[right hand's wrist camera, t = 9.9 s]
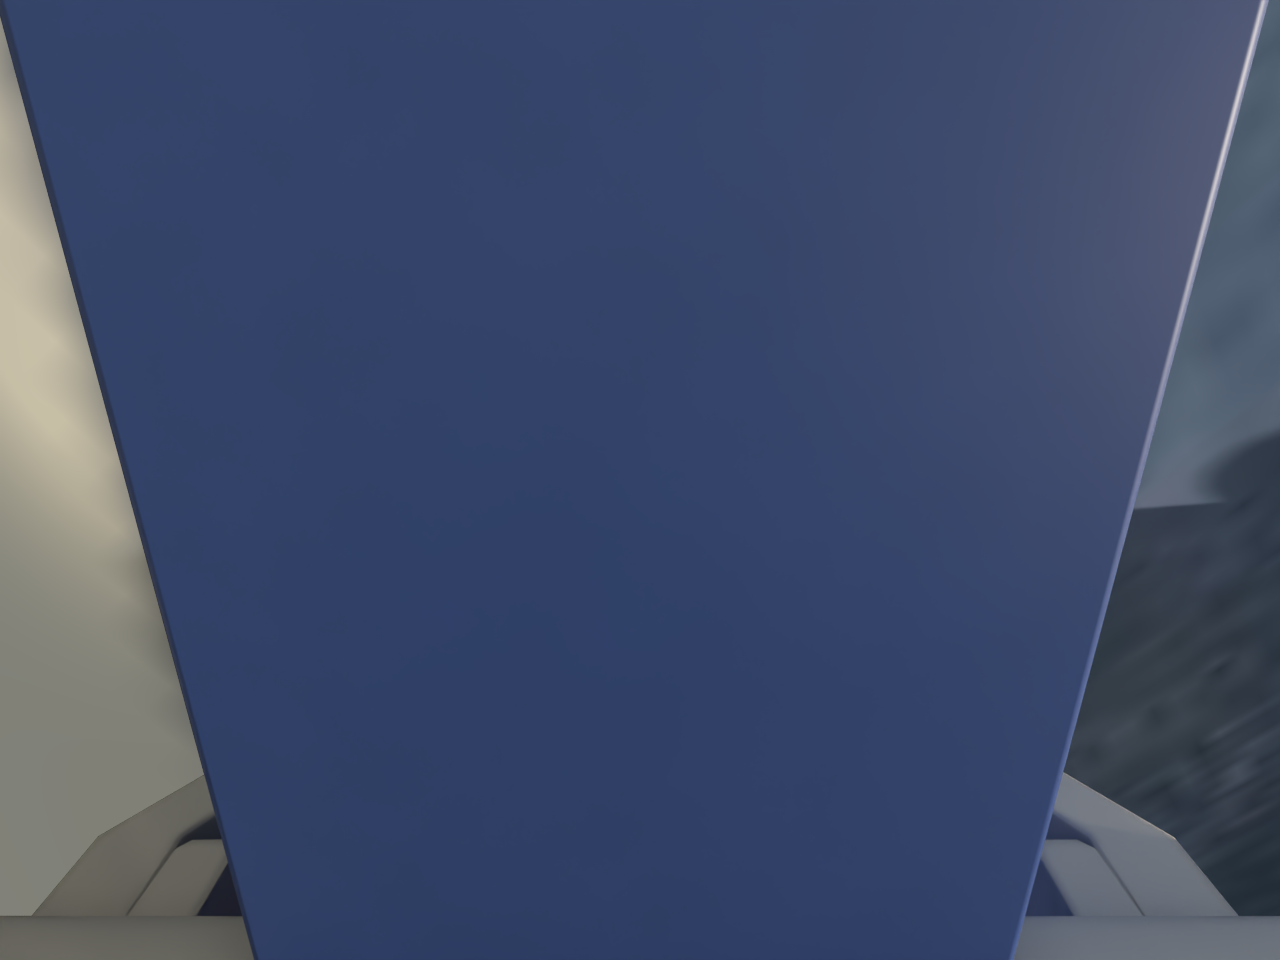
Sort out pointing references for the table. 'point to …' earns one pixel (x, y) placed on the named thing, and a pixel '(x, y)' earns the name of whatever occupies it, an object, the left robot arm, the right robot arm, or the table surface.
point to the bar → (632, 439)
